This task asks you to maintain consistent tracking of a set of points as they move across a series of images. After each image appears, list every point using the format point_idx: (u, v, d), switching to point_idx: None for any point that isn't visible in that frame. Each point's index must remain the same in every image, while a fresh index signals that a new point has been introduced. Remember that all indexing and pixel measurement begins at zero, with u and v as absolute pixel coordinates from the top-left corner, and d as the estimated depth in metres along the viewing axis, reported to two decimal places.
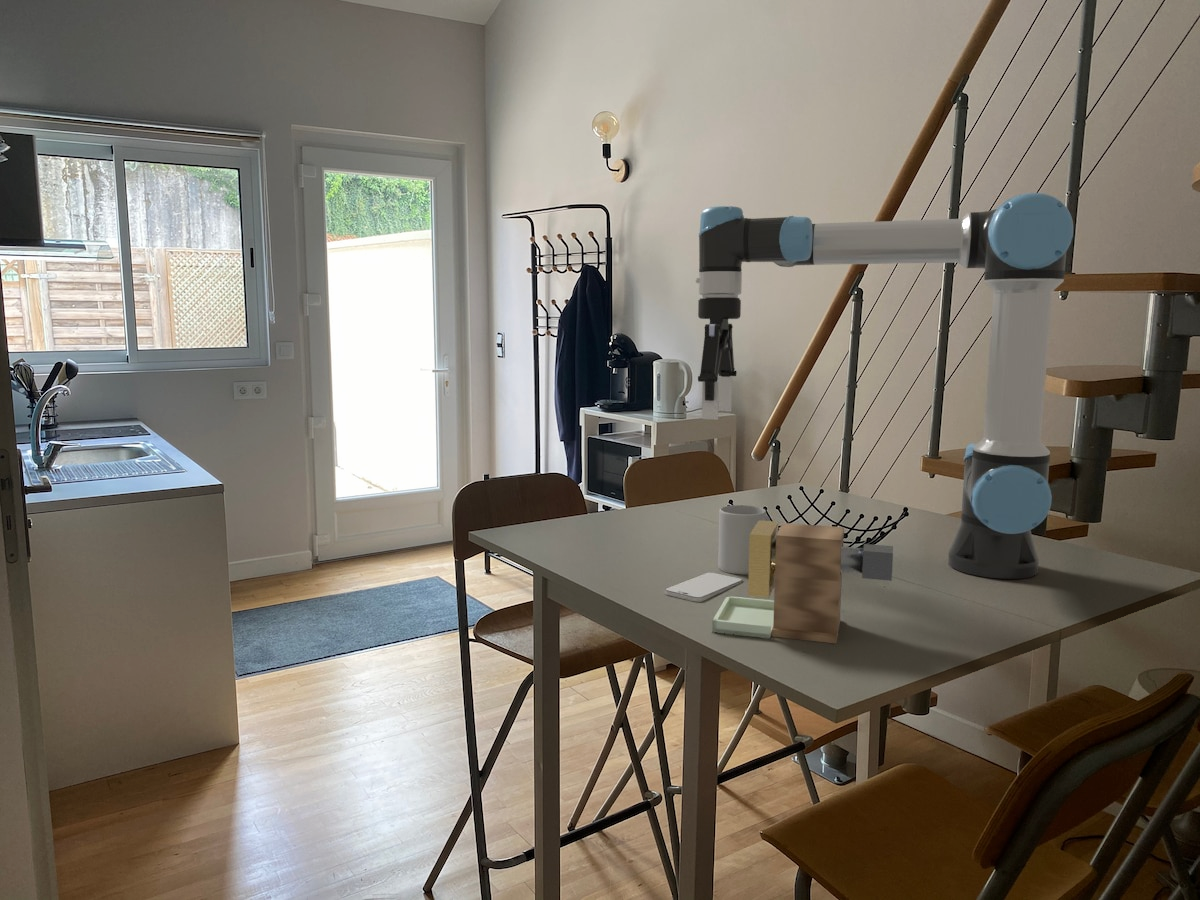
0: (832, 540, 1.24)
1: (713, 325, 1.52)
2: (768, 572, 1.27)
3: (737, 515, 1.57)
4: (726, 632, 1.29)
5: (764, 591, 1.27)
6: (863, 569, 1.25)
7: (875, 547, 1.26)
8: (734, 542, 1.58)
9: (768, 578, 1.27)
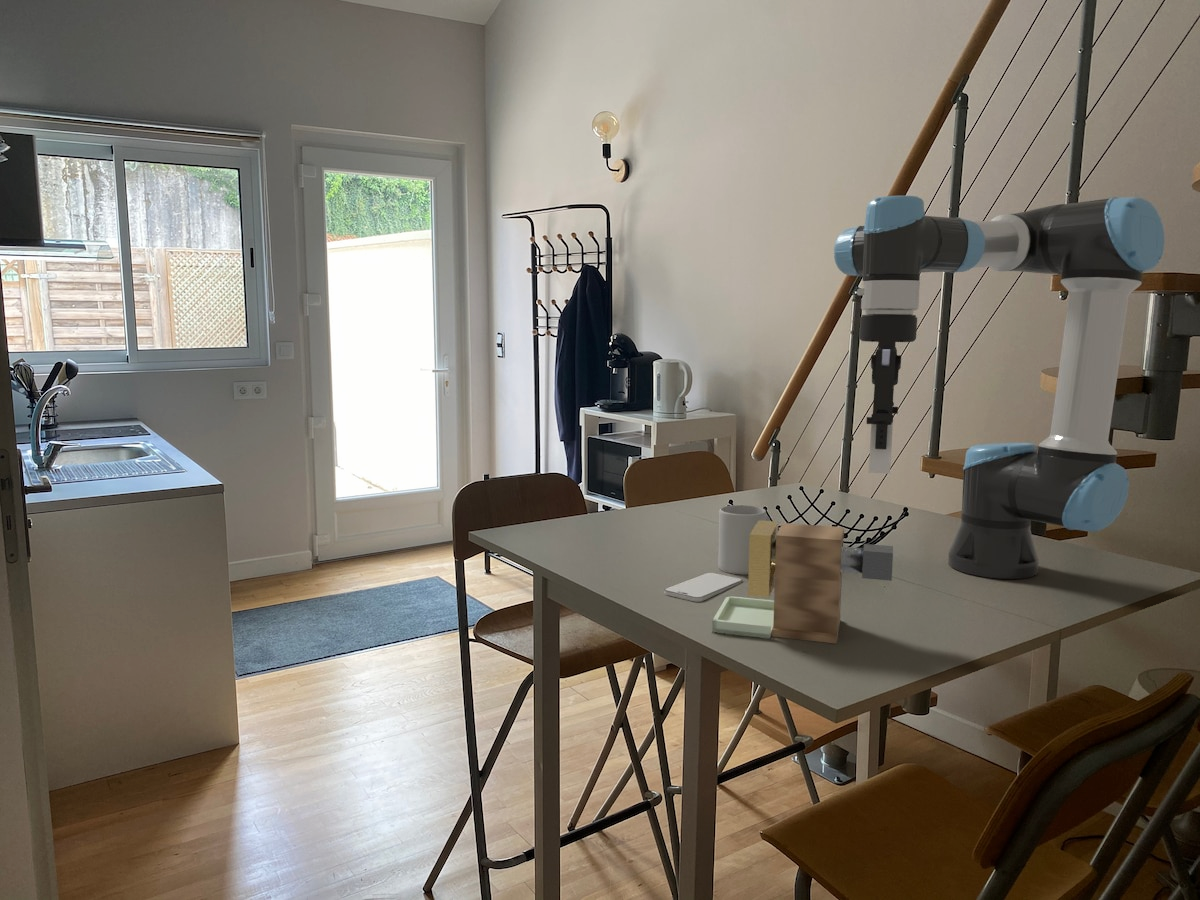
0: (832, 540, 1.24)
1: (888, 351, 1.16)
2: (768, 572, 1.27)
3: (737, 515, 1.57)
4: (726, 632, 1.29)
5: (764, 591, 1.27)
6: (863, 569, 1.25)
7: (875, 547, 1.26)
8: (734, 542, 1.58)
9: (768, 578, 1.27)
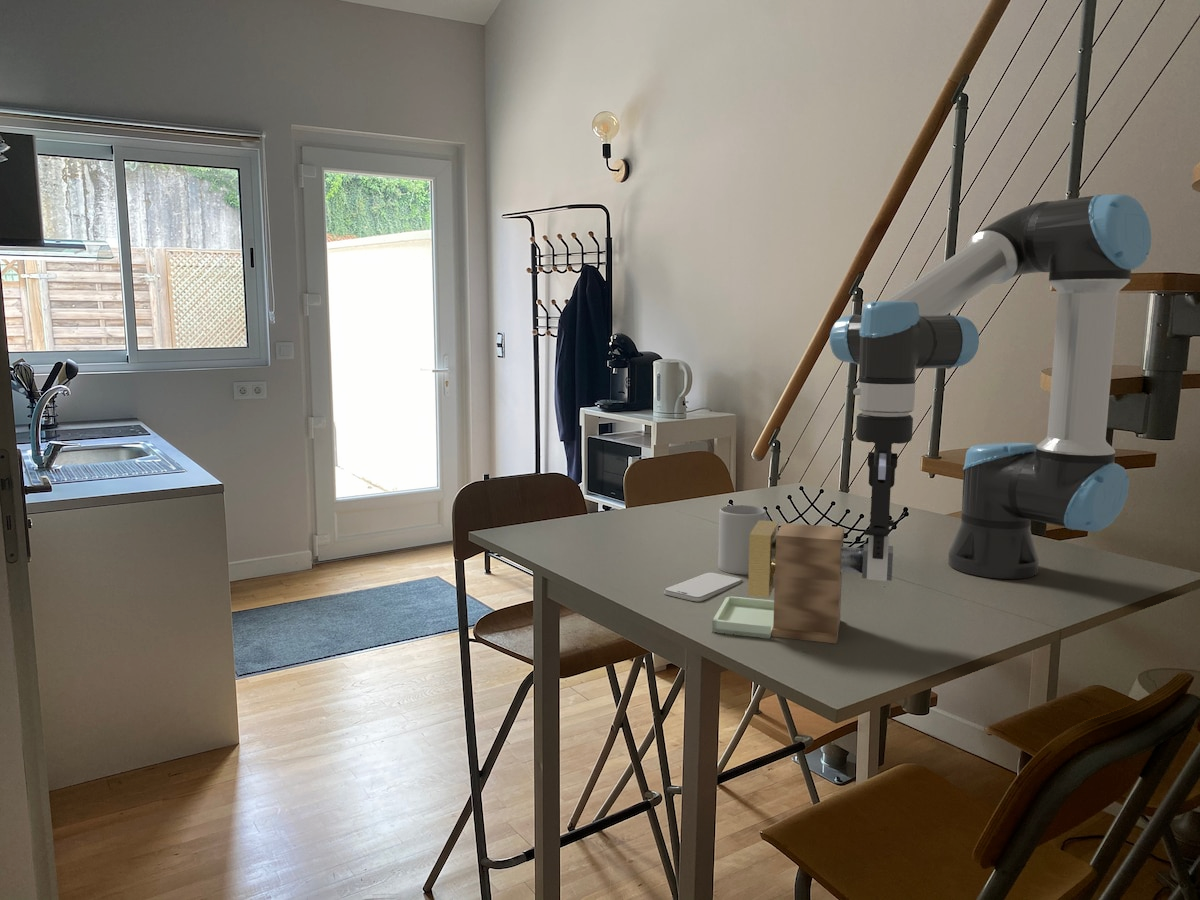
0: (832, 540, 1.24)
1: (884, 468, 1.18)
2: (768, 572, 1.27)
3: (737, 515, 1.57)
4: (726, 632, 1.29)
5: (764, 591, 1.27)
6: (863, 569, 1.25)
7: None
8: (734, 542, 1.58)
9: (768, 578, 1.27)
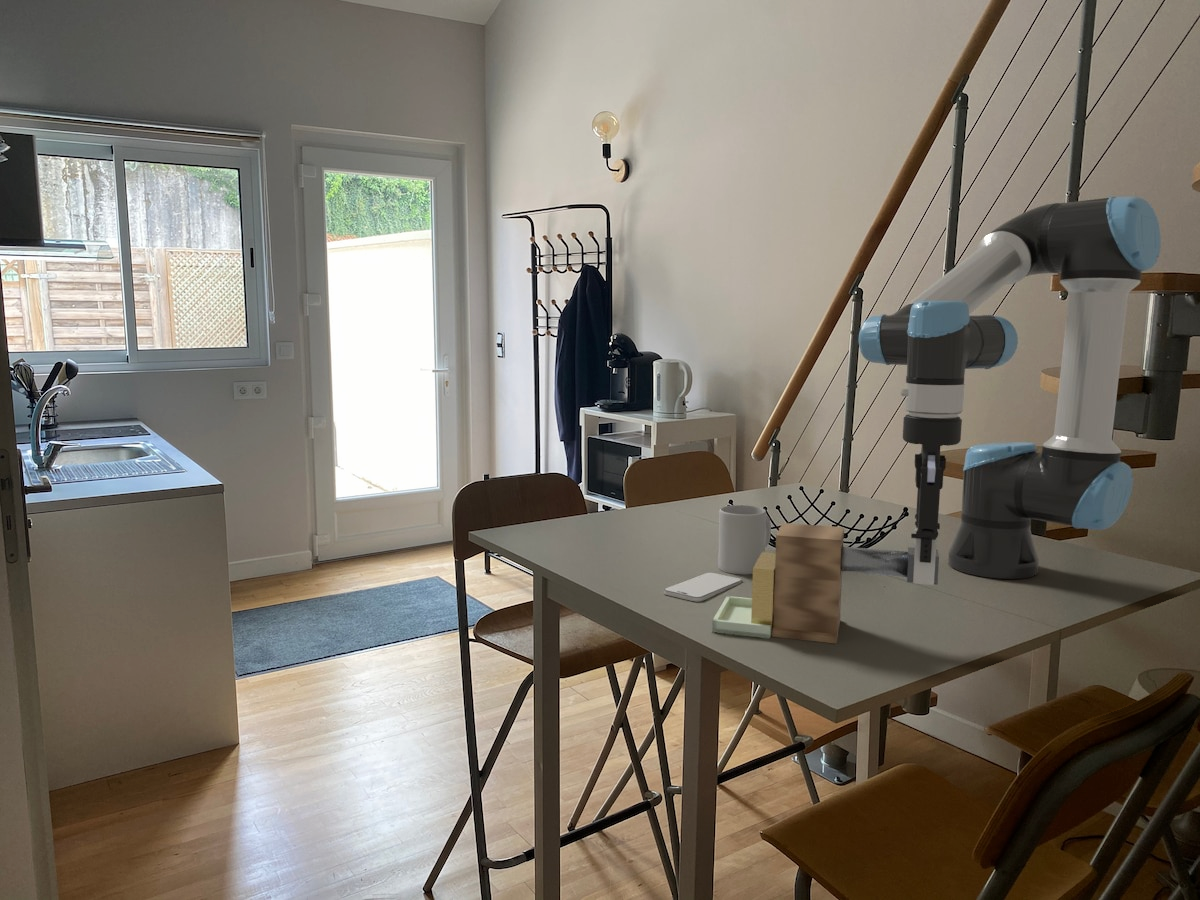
0: (832, 540, 1.24)
1: (933, 470, 1.16)
2: (771, 606, 1.27)
3: (737, 515, 1.57)
4: (726, 632, 1.29)
5: None
6: (908, 573, 1.23)
7: None
8: (734, 542, 1.58)
9: (771, 611, 1.28)
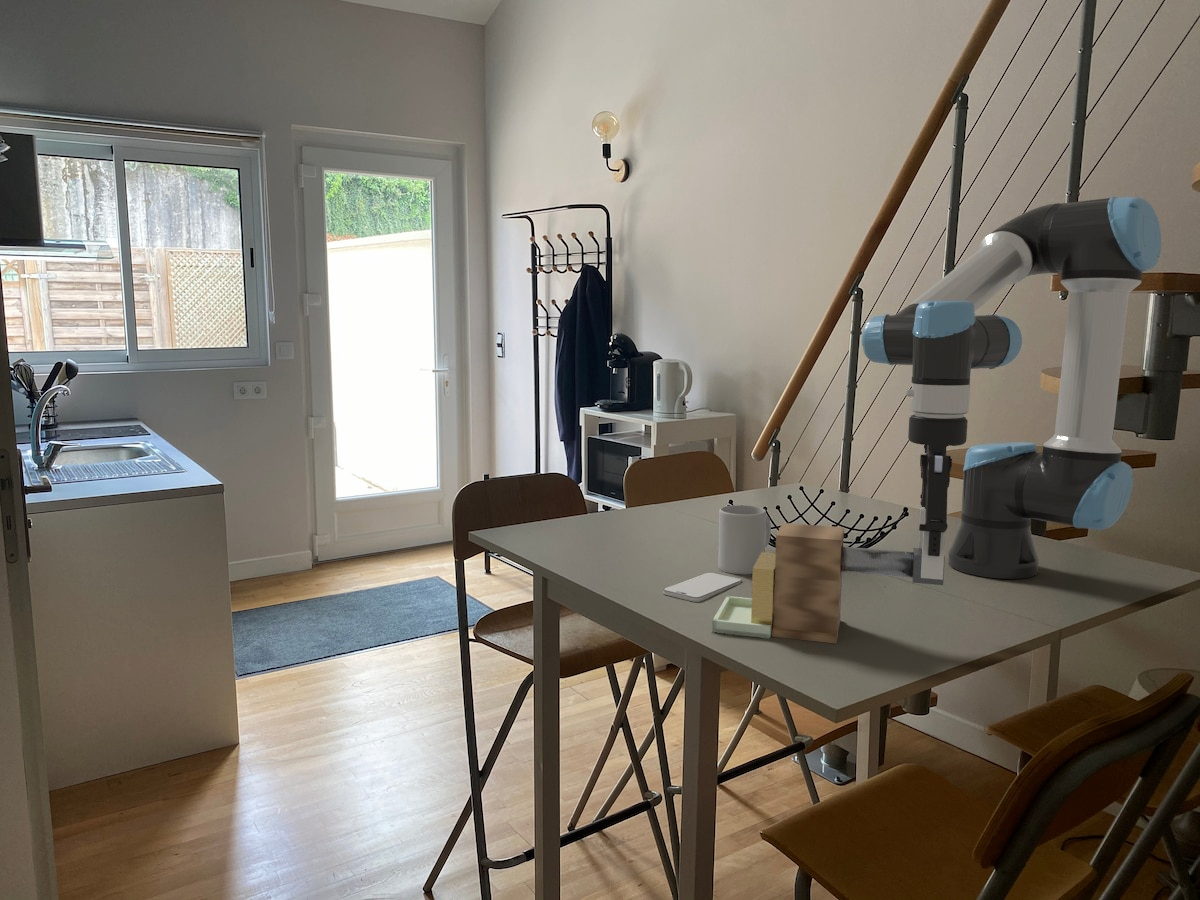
0: (832, 540, 1.24)
1: (940, 458, 1.15)
2: (771, 606, 1.27)
3: (737, 515, 1.57)
4: (726, 632, 1.29)
5: None
6: (914, 573, 1.23)
7: None
8: (734, 542, 1.58)
9: (771, 611, 1.28)
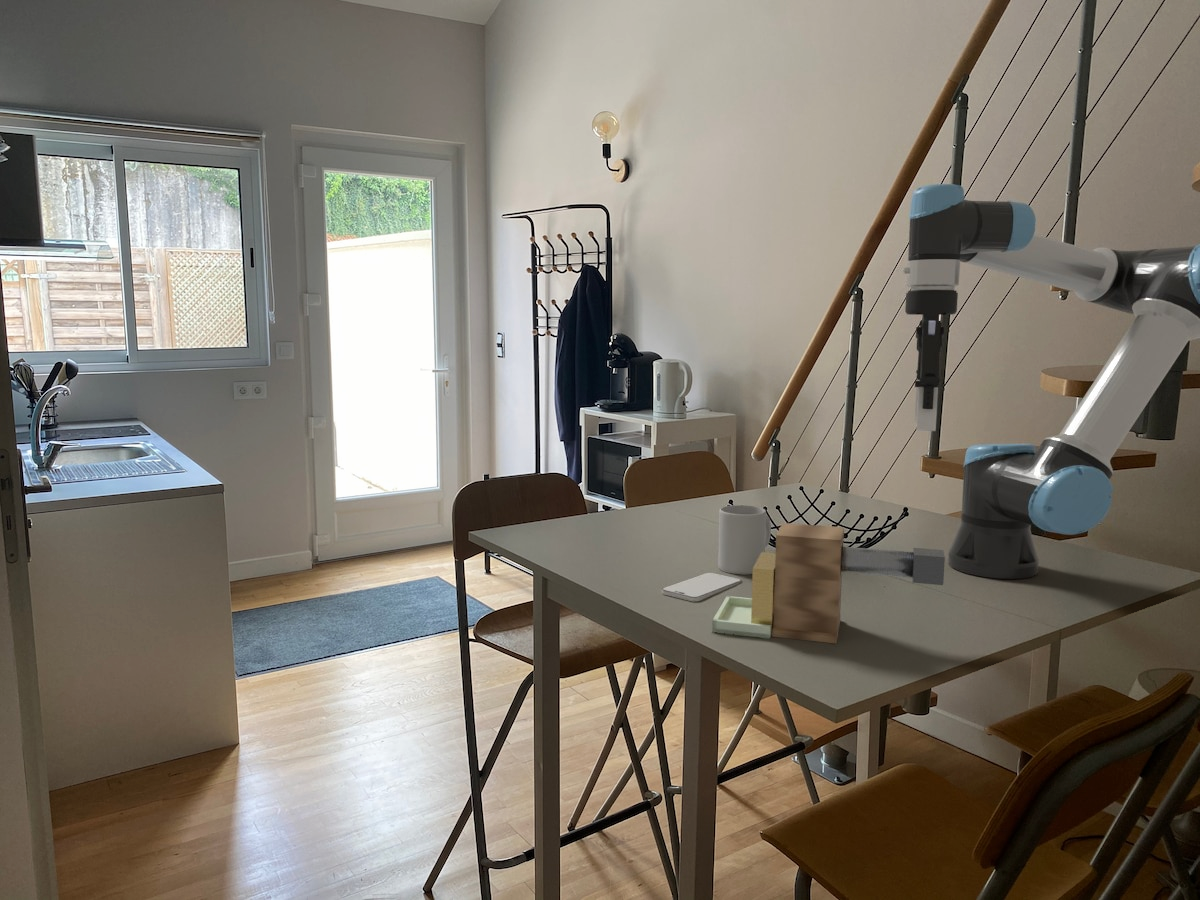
0: (832, 540, 1.24)
1: (933, 322, 1.31)
2: (771, 606, 1.27)
3: (737, 515, 1.57)
4: (726, 632, 1.29)
5: None
6: (914, 573, 1.23)
7: (926, 551, 1.24)
8: (734, 542, 1.58)
9: (771, 611, 1.28)
